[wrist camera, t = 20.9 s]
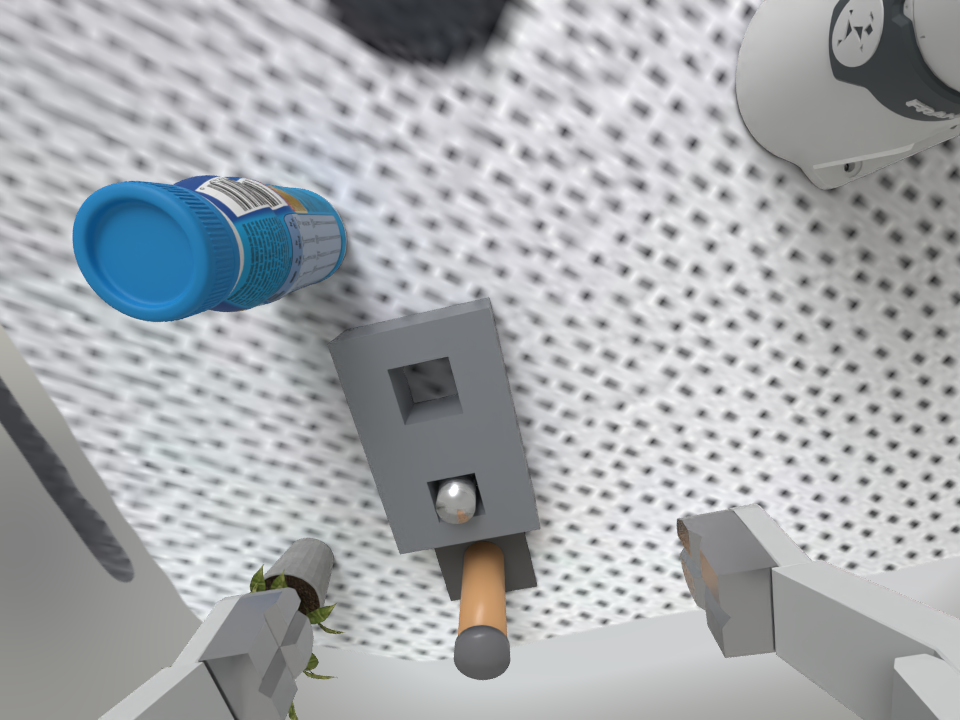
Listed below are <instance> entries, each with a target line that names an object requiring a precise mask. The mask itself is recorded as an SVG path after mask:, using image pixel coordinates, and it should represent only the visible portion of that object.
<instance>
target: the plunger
mask: <svg viewBox="0 0 960 720" xmlns="http://www.w3.org/2000/svg"><path fill="white" fill-rule="evenodd" d="M476 485H477V479H476V476H475V473H471V474H466V475H461V476H456V477H451V478H446V479H441V481H440V486H439V491H438V496H437V502H436V511H437V513H438V515H439V516H440V517H441V518H442V519H443V520H444V521H446V522H448V523H452V524H461V523H464V522H466V521H468V520H469V519H470V518H471V517H472V516H473V515H474V512H475V504H476Z"/></svg>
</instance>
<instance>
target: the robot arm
mask: <svg viewBox="0 0 960 720" xmlns="http://www.w3.org/2000/svg"><path fill="white" fill-rule="evenodd" d="M736 93H737V100H738V105H739V109H740V112H741V115H742V117H743V120H744V122H745V124H746V126H747V128H748V129H749V131H750V133H751V134H752V135H753V137H754V138H755V139H756V140H757V141H758V142H759V143H760V144H761V145H762V146H763V147H764V148H765V149H767V150H768V151H769V152H771V153H773V154H774V155H776V156H778V157H780V158H783V159H785V160H787V161H790V162H792V163H794V164H796V165H797V166H799V167H800V168H801V169H802V170H803V172H804V173H805V174H806V176H807V177H808V178H809V179H810V180H811V182H812V183H813V184H814V185H816V186H817V187H818V188H820V189H824V190H827V189H832V188H836V187H840V186H842V185H844V184H847V183H849V182H851V181H854V180H856V179H858V178H861V177H863V176H865V175H868V174H870V173H872V172H875V171H877V170H879V169H882V168H884V167H886V166H889V165H891V164H893V163H895V162H898V161H900V160H902V159H905V158H907V157H909V156H912V155H914V154H916V153H919V152H921V151H923V150H926V149H928V148H930V147H933V146H935V145H937V144H940V143H942V142H944V141H947V140H949V139H951V138H953V137H956V136H958V135H960V0H764V1H763V2H762V4H761V5H760V7H759V8H758V10H757V11H756V13H755V15H754V17H753V18H752V20H751V22H750V24H749V26H748V28H747V31H746V33H745V36H744V38H743V41H742V44H741V48H740V52H739V56H738V61H737V69H736ZM846 163H848V165H849V168H848V170H847V171H845V170H844V166H845V164H846ZM677 533H678V537H679V539H680V540H681V542H682V544H683V546H684V549H683V550H682V552H681V553H680V557H681V563H682V569H683V572H684V576H685V580H686V583H687V585H688V588H689V590H690V593H691V595H692V597H693V599H694V601H695V602H696V604H697V605H698V606H699V607H701V608H702V609H704V610H706V616H707V624H708V627H709V629H710V631H711V632H712V634H713V636H714V638H715V640H716V642H717V643H718V645H719V647H720V649H721V651H722V653H723V655H724V657H725V658H728V657H737V656H746V655H755V654H763V653H771V652H776V655H777V656H778V657H780V658H781V659H783V660H784V661H785V662H787V663H788V664H789V665H791V666H792V667H793V668H795V669H796V670H797V671H799V672H800V673H801V674H803V675H804V676H805V677H807V678H808V679H809V680H811V681H812V682H813V683H815V684H816V685H817V686H819V687H820V688H821V689H823V690H824V691H825V692H827V693H828V694H829V695H831V696H832V697H834V698H835V699H836V700H838V701H839V702H840V703H842V704H843V705H844V706H846V707H847V708H848V709H850V710H851V711H852V712H854V713H855V714H856V715H858V716H859V717H861V718H862V719H863V720H960V619H958V618H956V617H953V616H951V615H949V614H947V613H944V612H942V611H940V610H937V609H935V608H932V607H930V606H928V605H925V604H923V603H921V602H918V601H916V600H914V599H911V598H909V597H907V596H904V595H902V594H900V593H897V592H895V591H893V590H890V589H888V588H885V587H883V586H881V585H878V584H876V583H874V582H871V581H869V580H867V579H864V578H862V577H860V576H857V575H855V574H853V573H850V572H848V571H846V570H843V569H841V568H839V567H836V566H834V565H832V564H829V563H827V562H824V561H822V560H819V561H812V560H811V559H810V558H809V557H808V556H807V555H806V554H805V553H804V552H803V551H802V550H801V549H800V548H799V546H798V545H797V544H796V543H795V542H794V541H793V540H792V539H791V538H790V537H789V536H788V535H787V534H786V533H785V532H784V531H783V530H782V529H781V528H780V526H779V525H778V524H777V523H776V522H775V521H774V520H773V519H772V518H771V517H770V516H769V515H768V514H767V513H766V512H765V511H764V510H763V509H762V507H761V506H759V505H757V504H755V503H754V504H749V505H744V506H739V507H734V508H729V509H728V510H722V511H717V512H711V513H706V514H700V515H695V516H689V517H684V518H678V519H677ZM300 602H301V600H300V598H299V596H298V594H297V592H296V590H295V589H293V588H289V587H287V588H281V589H274V590H267V591H261V592H254V593H248V594H245V595H237V596H231V597H225V598H224V599H222V600H220V601H218V602H217V604H216V605H215V606H214V608H213V609H212V611H211V612H210V613H209V615H208V616H207V618H206V619H205V620H204V622H203V623H202V625H201V626H200V627H199V629H198V630H197V632H196V633H195V634H194V636H193V637H192V638H191V640H190V641H189V643H188V644H187V645H186V647H185V648H184V650H183V651H182V652H181V654H180V655H179V657H178V658H177V660H176V661H175V662H174V664H173V665H172V666H171V667H168V668H164V669H162V670H161V671H160V672H158V673H157V674H156V675H155V676H153V677H152V678H151V679H149V680H148V681H147V682H145V683H144V684H143V685H142V686H140V687H139V688H138V689H136V690H135V691H134V692H133V693H132V694H130V695H129V696H128V697H126V698H125V699H124V700H123V701H121V702H120V703H119V704H117V705H116V706H115V707H113V708H112V709H111V710H109V711H108V712H107V713H106V714H104V715H103V716H102V717H100V718H99V719H98V720H285V718H286V716H287V714H288V711H289V709H290V706H291V704H292V701H293V699H294V697H295V694H296V692H297V685H296V681H295V679H296V678H297V676H299V674H300V673H301V672H302V671H303V670H304V669H305V668H306V667H307V665H308V662H309V659H310V657H311V654H312V647H313V631H312V626H311V623H310V621H309V619H308V617H307V616H305V615H304V614H302V613H301V612H299V611H298V608H299V605H300Z"/></svg>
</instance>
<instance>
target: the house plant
mask: <svg viewBox="0 0 960 720" xmlns="http://www.w3.org/2000/svg"><path fill="white" fill-rule="evenodd" d="M333 562H334V557H333V553H332V551H331V549H330V548H329V547H328V546H327V545H326V544H325V543H323V542H322V541H319V540H317V539H312V538H303V539H300V540H297V541H296V542H294V543H293V544H292V545H291V546H290V547H289V549H288V550H287V551H286V552H285V553H284V554H283V555H282V556H281V557H280V558H279V560H278V561H277V562H276V563H275V564H274V565H273V566H272V567H271V568H270V570H269V571H268V572H267V573H266V574H265V575H264V576H263V565H264V564H263V565H262V567H261V568H260V569H259V570H258V572H257V573H256V574H255V575H254V576H253V578H252V580H251V584H250V590H251V592H250V593H254V592H261V591H267V590H274V589H281V588H287V587H289V588H293V589H295V590H296V592H297V594H298V596H299V598H300V600H301V602H300V605H299V608H298V611H299V612H301V613H302V614H304V615H305V616H307V617H308V619H309V621H310V623H311V624H317V623H318V625H319V626H320V627H321V628H322V629H323V630H324V631H325V632H327V633H333V634H340V633H344V632H340V631H335V630H331V629H328V628H326V627H324V626H323V625H322V624H321V623H320V622H323V621H324V620H325V619H326V618H327V617H328V616H329V614H330V613H331V611H332V610H333V608H334V606H335V605H336V604H334V605H333V606H326V607H323V606H324V602H325V597H326V593H327V589H328V584H329V580H330V576H331V571H332V567H333ZM317 665H318V659H317V658H316V656H315V655H314V654H313V653H312V654H311V657H310V659H309V662H308V665H307V667H306V668H305V669H304V670H312V669H314V668H316V666H317ZM170 667H171V666H170ZM163 669H164V668H163ZM304 670H303V672H304V673H305V674H306V675H307V676H309V677H311V678H316V679H330V678H334V677H330V676H320V675H315V674H314V673H312V672H311V673H312V674H311V673H308V672H306V671H304ZM288 713H289V717H290V719H291V720H298V718H297V716H296V713H295V710H294V705H293V701H292V704H291V706H290V709H289V711H288Z"/></svg>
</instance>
